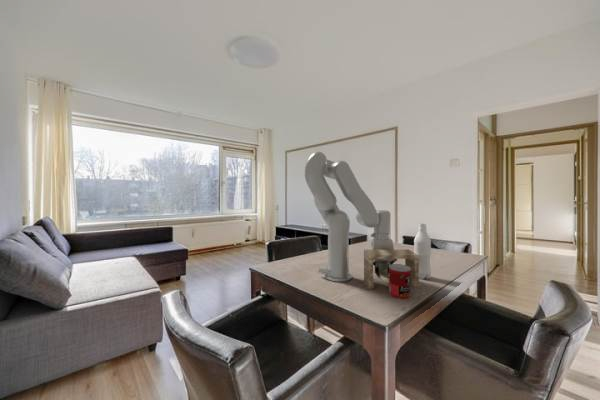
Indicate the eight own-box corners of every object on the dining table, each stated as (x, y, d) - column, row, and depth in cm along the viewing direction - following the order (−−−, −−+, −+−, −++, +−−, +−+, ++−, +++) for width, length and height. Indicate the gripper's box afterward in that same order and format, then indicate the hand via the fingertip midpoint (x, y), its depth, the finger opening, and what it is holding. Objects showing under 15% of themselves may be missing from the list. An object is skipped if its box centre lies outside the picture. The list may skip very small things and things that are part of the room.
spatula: (390, 290, 100) (390, 273, 99) (376, 274, 120) (376, 260, 119) (400, 290, 99) (400, 273, 99) (384, 274, 119) (384, 260, 119)
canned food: (401, 300, 90) (401, 271, 90) (384, 293, 97) (384, 265, 97) (415, 296, 94) (415, 267, 94) (397, 289, 101) (397, 262, 101)
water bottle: (433, 280, 111) (433, 225, 110) (416, 279, 112) (416, 224, 111) (428, 275, 118) (428, 223, 117) (412, 274, 119) (412, 222, 118)
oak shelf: (369, 288, 102) (369, 255, 101) (364, 280, 112) (363, 249, 111) (418, 288, 101) (418, 255, 101) (408, 280, 111) (408, 249, 111)
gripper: (366, 237, 113) (366, 277, 114) (403, 237, 113) (402, 277, 113) (362, 235, 121) (362, 272, 121) (396, 234, 120) (396, 272, 121)
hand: (382, 274), depth 117 cm, fingers closed on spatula, 4 cm apart
